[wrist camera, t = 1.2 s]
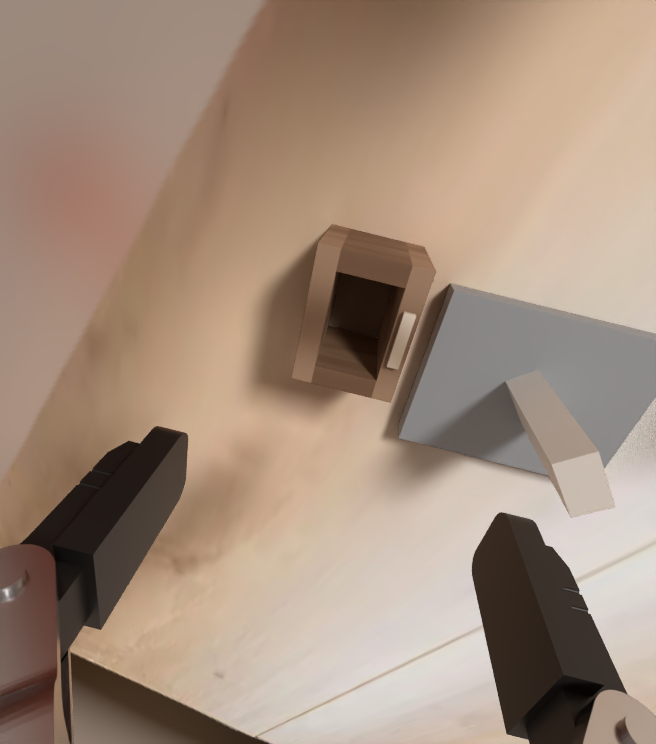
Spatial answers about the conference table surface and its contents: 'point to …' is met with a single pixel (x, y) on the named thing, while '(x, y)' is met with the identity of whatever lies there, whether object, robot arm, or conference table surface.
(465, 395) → the base
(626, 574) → the conference table surface
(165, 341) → the conference table surface
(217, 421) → the conference table surface
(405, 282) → the open cubby box
